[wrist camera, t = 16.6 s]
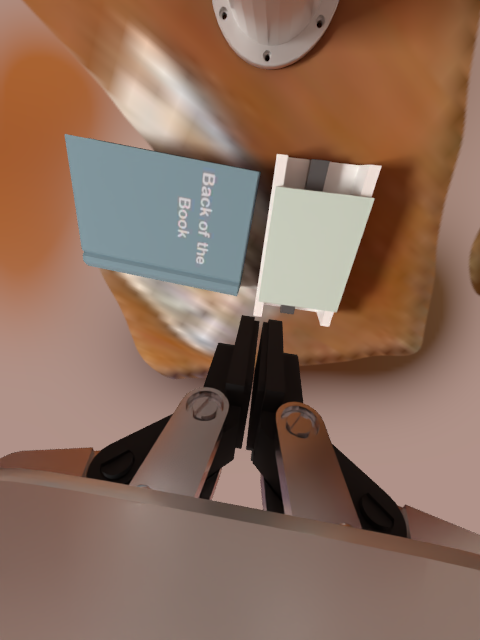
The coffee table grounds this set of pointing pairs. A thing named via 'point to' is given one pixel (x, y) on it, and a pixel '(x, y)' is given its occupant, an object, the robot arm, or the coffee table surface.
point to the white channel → (317, 179)
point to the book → (162, 214)
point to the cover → (312, 247)
